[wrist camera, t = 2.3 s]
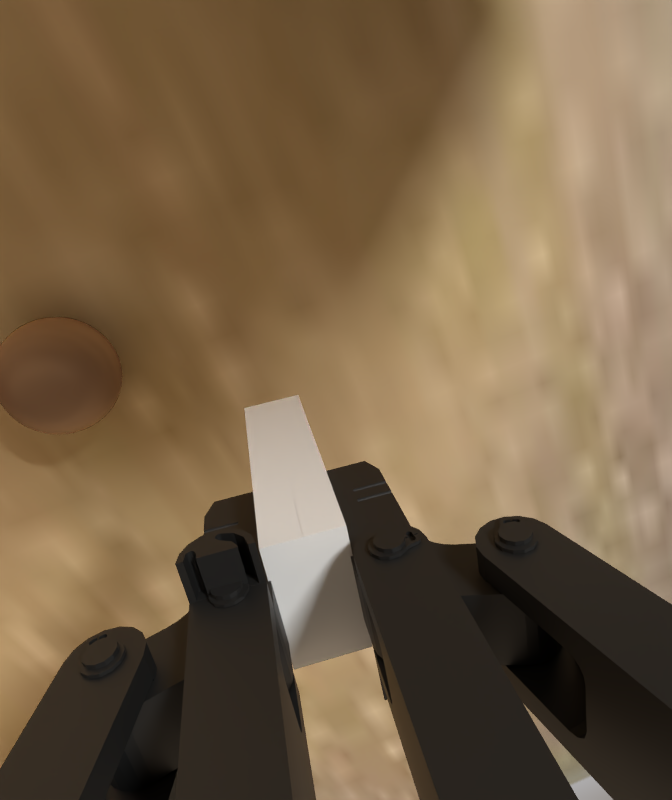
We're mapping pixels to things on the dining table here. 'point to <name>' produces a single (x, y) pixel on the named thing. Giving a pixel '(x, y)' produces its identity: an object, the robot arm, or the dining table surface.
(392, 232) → the dining table surface
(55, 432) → the brown ball
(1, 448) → the dining table surface
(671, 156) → the dining table surface
